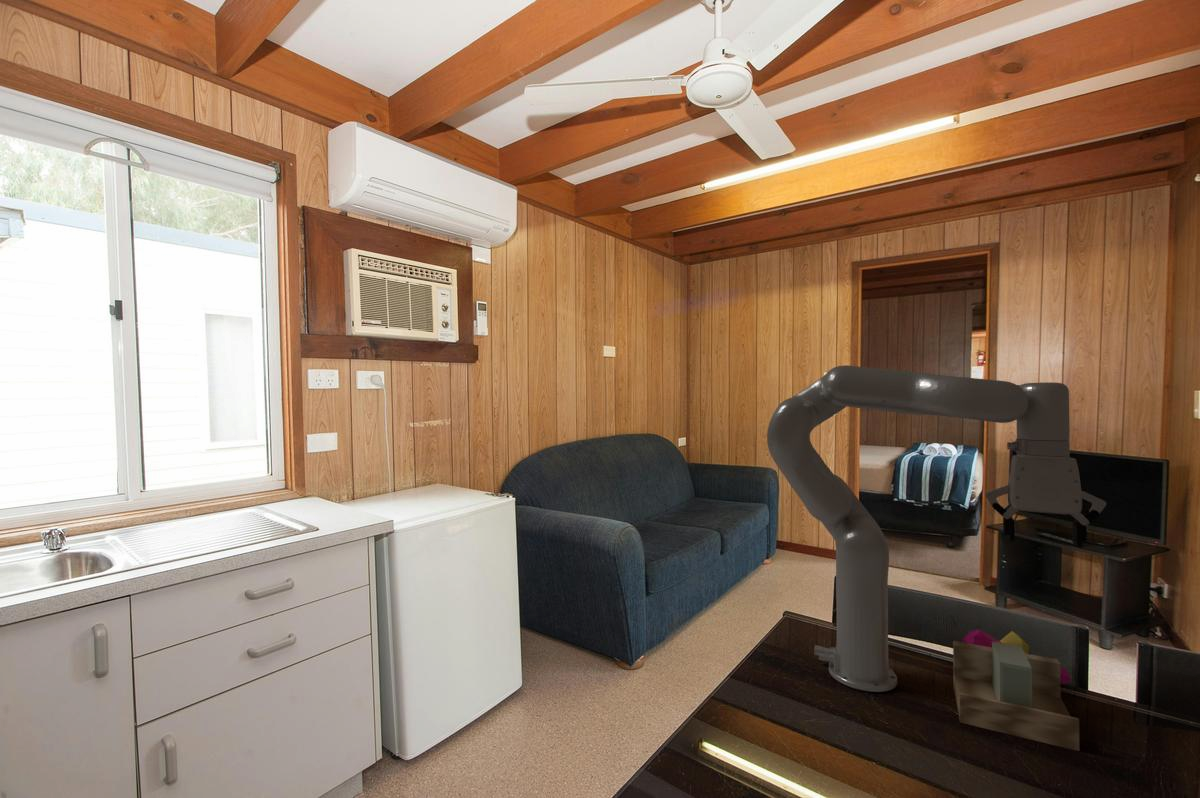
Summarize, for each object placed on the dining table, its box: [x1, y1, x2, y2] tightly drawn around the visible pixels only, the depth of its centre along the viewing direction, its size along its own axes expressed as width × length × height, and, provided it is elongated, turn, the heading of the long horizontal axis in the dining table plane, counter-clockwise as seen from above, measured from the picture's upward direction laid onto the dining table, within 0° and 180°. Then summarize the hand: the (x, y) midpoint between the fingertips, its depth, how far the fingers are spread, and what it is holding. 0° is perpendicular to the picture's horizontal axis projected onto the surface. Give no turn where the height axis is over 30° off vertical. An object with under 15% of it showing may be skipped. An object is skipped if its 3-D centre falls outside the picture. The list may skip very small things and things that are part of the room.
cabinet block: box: [992, 642, 1032, 708], centre depth 96 cm, size 4×9×8 cm, turn 151°
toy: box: [962, 629, 1073, 685], centre depth 109 cm, size 10×18×10 cm
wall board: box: [952, 640, 1080, 752], centre depth 96 cm, size 16×14×9 cm
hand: (1043, 542), depth 99 cm, fingers open, 9 cm apart
